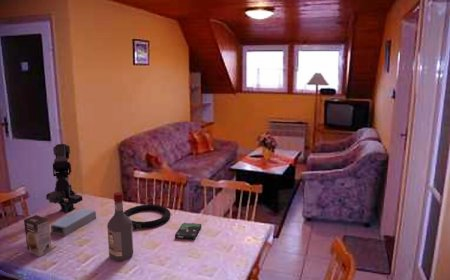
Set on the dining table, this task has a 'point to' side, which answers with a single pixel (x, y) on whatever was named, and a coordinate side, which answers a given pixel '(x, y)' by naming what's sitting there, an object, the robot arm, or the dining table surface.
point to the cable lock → (148, 223)
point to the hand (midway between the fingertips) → (65, 213)
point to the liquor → (120, 232)
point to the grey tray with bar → (73, 226)
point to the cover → (73, 218)
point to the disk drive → (188, 231)
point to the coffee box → (37, 235)
